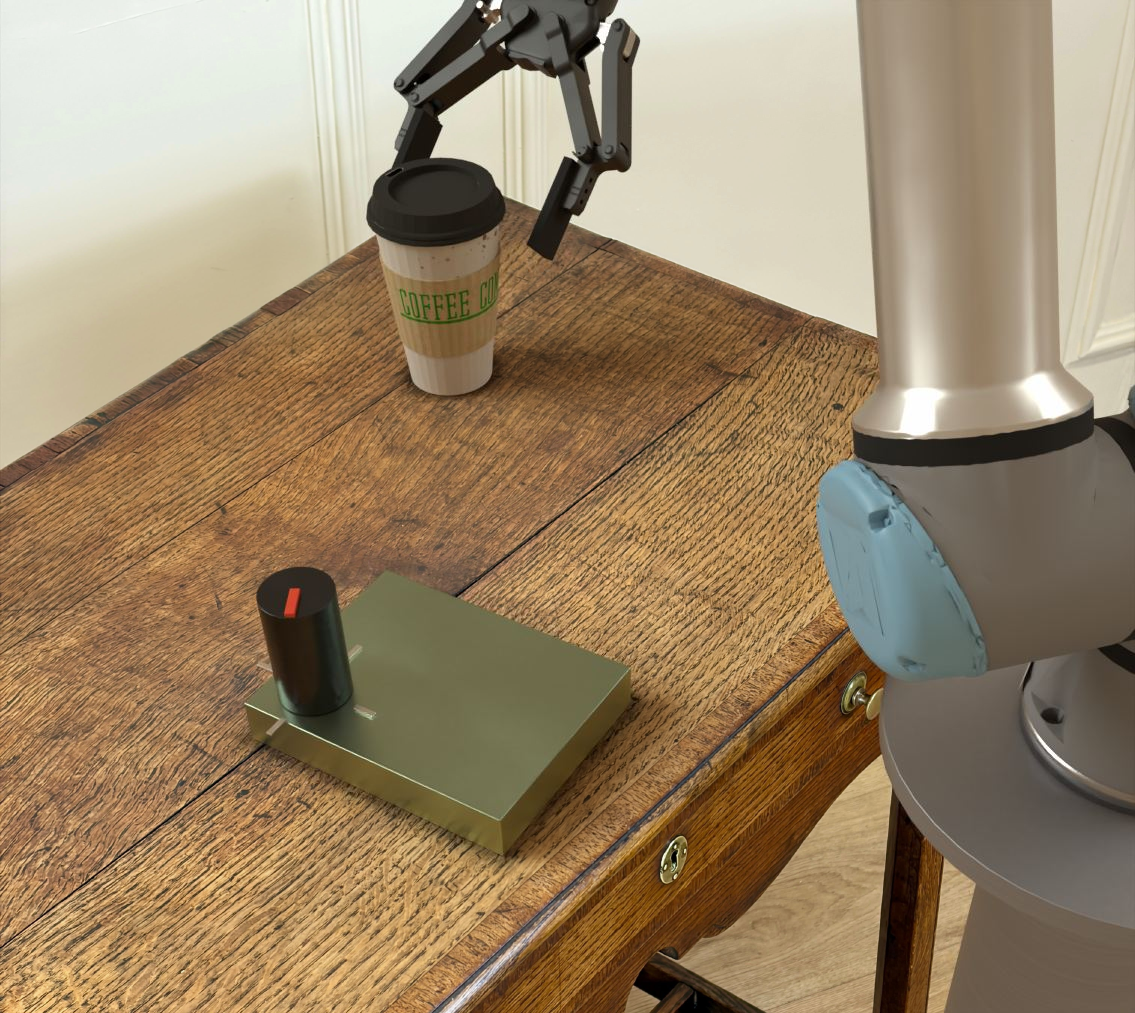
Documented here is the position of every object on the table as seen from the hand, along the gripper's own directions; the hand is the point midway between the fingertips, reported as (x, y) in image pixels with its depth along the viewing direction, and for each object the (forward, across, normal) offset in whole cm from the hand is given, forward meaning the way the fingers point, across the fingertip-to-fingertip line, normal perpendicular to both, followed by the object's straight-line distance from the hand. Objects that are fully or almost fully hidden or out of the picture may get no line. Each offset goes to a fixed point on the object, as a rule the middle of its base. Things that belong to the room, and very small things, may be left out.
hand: (465, 226), depth 115 cm
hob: (+30, -24, +15) cm, 41 cm away
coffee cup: (+10, 0, -6) cm, 11 cm away
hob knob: (+31, -18, +20) cm, 41 cm away
